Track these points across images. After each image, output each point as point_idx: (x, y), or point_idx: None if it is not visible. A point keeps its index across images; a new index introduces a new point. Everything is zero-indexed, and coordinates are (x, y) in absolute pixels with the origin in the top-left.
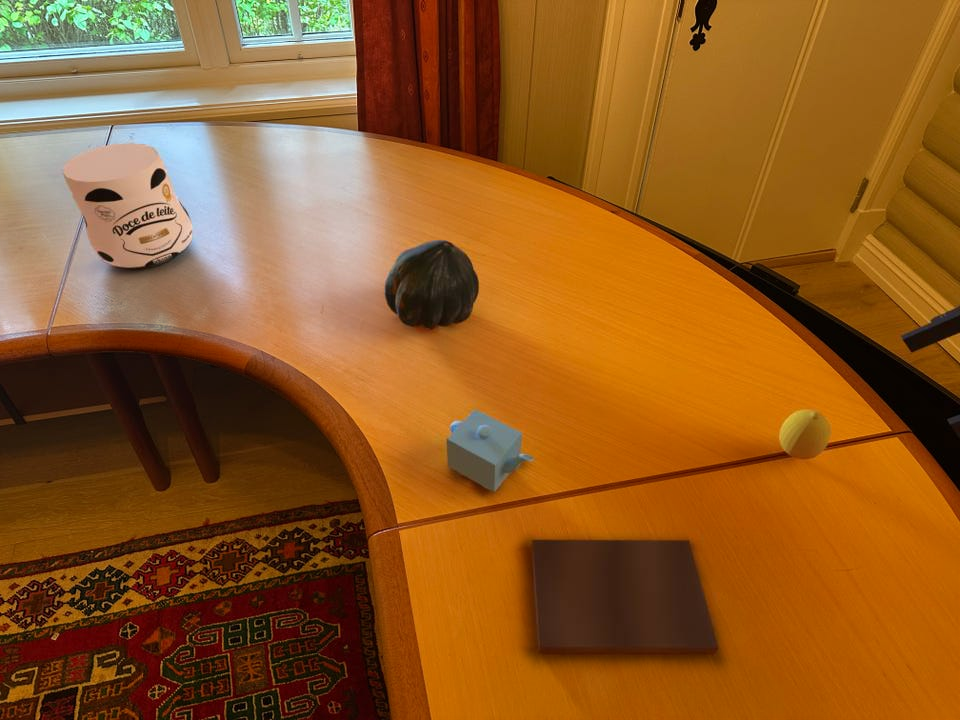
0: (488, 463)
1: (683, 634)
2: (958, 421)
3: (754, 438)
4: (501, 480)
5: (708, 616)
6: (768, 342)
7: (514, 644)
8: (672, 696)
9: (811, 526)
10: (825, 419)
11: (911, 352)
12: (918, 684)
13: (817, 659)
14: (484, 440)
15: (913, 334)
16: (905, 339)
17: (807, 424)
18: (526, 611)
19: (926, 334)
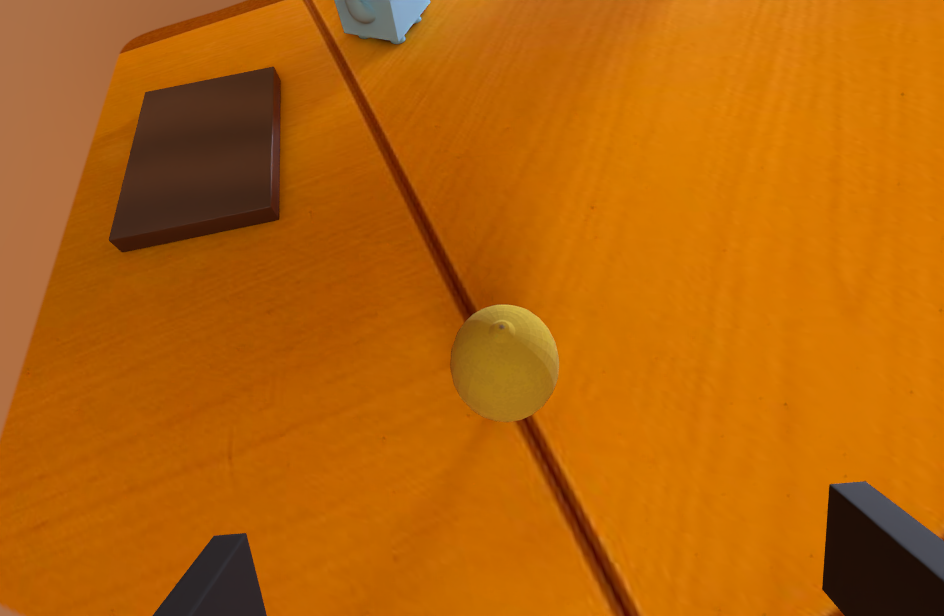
0: None
1: (132, 204)
2: (197, 563)
3: None
4: (356, 28)
5: (152, 229)
6: (921, 379)
7: None
8: (84, 213)
9: (323, 404)
10: (504, 362)
11: (824, 588)
12: (10, 534)
13: (87, 377)
14: None
15: (881, 523)
16: (838, 498)
17: (476, 319)
18: None
19: (920, 603)
